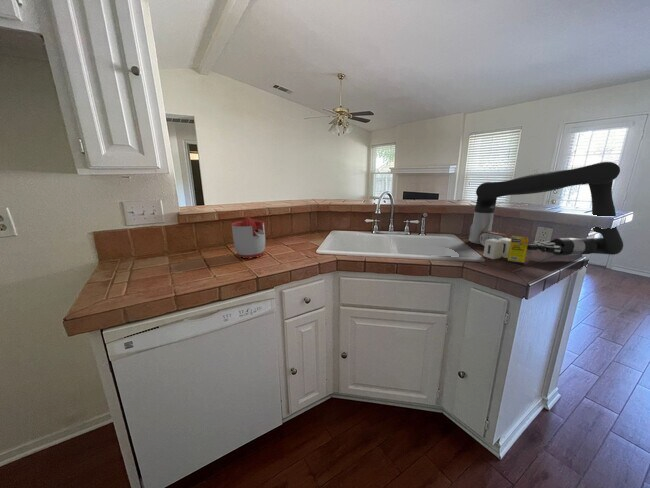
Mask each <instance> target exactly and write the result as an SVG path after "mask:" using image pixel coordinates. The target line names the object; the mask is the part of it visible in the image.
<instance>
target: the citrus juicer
mask: <svg viewBox="0 0 650 488" xmlns="http://www.w3.org/2000/svg"><path fill="white" fill-rule="evenodd" d="M230 225H231V230H232V232H231V233H232V238H233V239H232V240H233V244H234V246H233V247H234V248H235V249H234V250H235V251H236V254H237V255H238V257H239V256H240V257H244V258H250V257H257V256H260V255H262V254H263V255H264V252H265V250H266V249H265V247H266V231H265V230H266V229H265V221H264V220H260V219H253V218H251V217H250V216H249V215H248V216H246V217H245V218H244V219H243V220H238V221H234V222H231V223H230ZM263 255H262V256H263ZM240 257H239V258H240ZM260 257H261V256H260ZM257 258H258V257H257Z"/></svg>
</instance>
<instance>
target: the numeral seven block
mask: <svg viewBox="0 0 650 488" xmlns="http://www.w3.org/2000/svg"><path fill="white" fill-rule="evenodd" d="M498 240H500V241H504V242H503V248H502V254H501V258H505V259H508V253H509V248H510V242H511V238H510V239H509V238H501V239H498Z"/></svg>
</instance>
